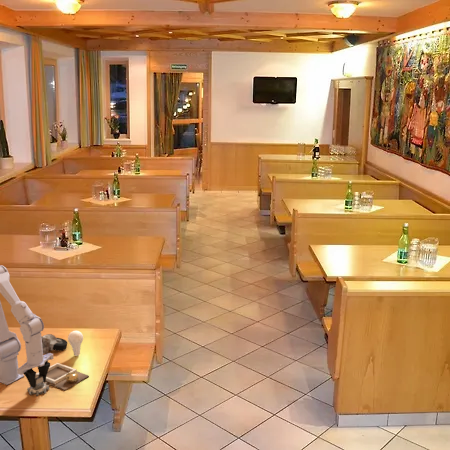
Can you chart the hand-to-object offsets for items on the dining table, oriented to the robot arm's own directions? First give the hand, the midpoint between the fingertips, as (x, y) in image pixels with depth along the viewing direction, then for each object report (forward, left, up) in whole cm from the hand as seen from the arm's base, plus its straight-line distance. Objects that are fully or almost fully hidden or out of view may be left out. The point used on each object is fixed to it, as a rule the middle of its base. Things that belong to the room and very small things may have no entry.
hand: (37, 384), depth 211 cm
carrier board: (0, +11, -3) cm, 11 cm away
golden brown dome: (+6, +11, -3) cm, 13 cm away
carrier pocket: (-3, +11, -3) cm, 12 cm away
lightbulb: (-9, +27, -3) cm, 29 cm away
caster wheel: (-22, +26, -3) cm, 34 cm away
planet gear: (0, 0, -3) cm, 3 cm away
